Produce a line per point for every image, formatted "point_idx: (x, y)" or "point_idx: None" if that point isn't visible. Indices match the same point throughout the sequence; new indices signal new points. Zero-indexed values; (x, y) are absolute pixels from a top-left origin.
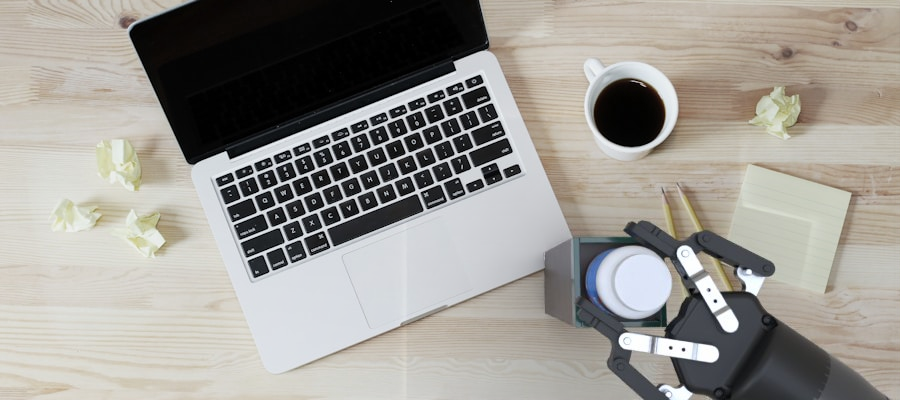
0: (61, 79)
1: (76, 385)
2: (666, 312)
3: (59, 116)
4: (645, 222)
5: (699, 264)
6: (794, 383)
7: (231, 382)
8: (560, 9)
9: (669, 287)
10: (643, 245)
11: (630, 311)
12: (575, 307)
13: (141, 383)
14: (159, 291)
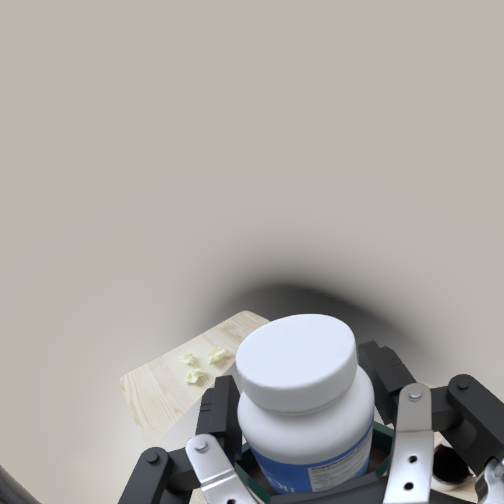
0: (233, 328)
1: (125, 391)
2: None
3: (220, 335)
4: (387, 350)
5: (428, 418)
6: None
7: (145, 434)
8: None
9: (327, 370)
10: (384, 454)
11: (251, 415)
12: (244, 444)
13: (132, 407)
14: (172, 392)
